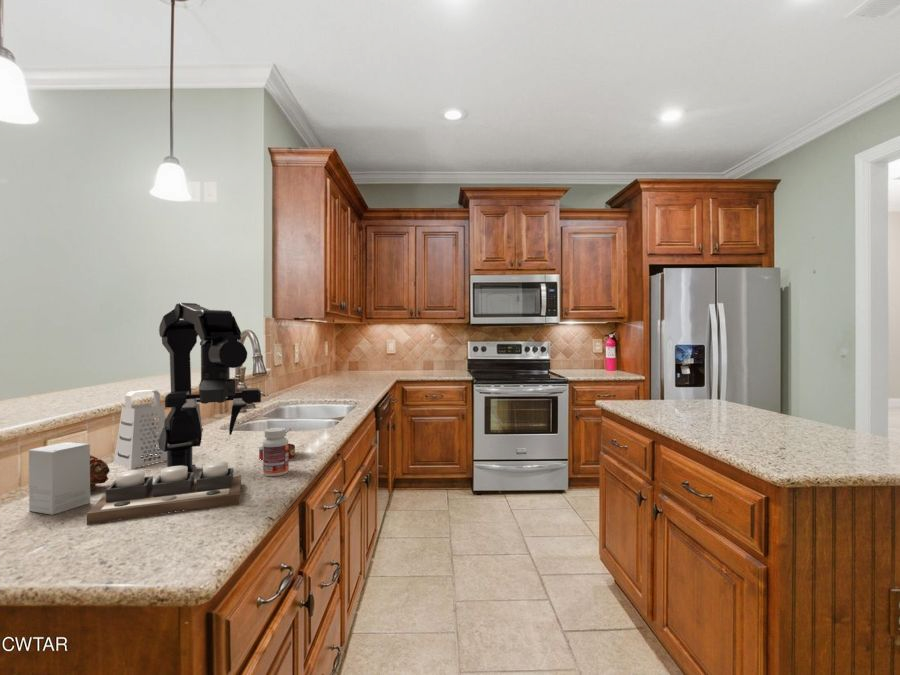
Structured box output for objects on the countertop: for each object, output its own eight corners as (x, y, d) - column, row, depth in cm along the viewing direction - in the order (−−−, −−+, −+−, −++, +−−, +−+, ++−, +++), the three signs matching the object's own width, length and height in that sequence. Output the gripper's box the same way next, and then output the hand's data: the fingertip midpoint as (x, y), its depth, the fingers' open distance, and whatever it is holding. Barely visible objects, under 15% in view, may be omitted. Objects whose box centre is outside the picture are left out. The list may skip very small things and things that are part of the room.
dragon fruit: (112, 495, 106) (51, 508, 103) (121, 466, 112) (64, 477, 109) (97, 472, 101) (32, 485, 98) (107, 443, 107) (46, 454, 104)
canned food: (279, 478, 129) (266, 451, 124) (257, 468, 134) (244, 442, 130) (308, 452, 137) (298, 425, 133) (286, 444, 142) (275, 418, 138)
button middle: (163, 478, 100) (163, 467, 100) (189, 475, 102) (189, 464, 102) (158, 484, 96) (158, 473, 96) (185, 481, 98) (185, 470, 98)
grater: (172, 460, 131) (172, 390, 131) (131, 469, 122) (130, 394, 122) (154, 455, 136) (153, 388, 136) (113, 463, 127) (113, 391, 127)
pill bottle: (291, 474, 117) (291, 430, 117) (265, 478, 113) (265, 432, 113) (285, 468, 122) (285, 426, 122) (260, 472, 118) (260, 428, 118)
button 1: (119, 482, 97) (119, 471, 97) (147, 479, 99) (146, 468, 99) (112, 489, 93) (112, 478, 93) (141, 486, 95) (141, 475, 95)
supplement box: (91, 503, 97) (91, 443, 97) (51, 516, 90) (51, 451, 90) (68, 499, 99) (68, 441, 99) (27, 511, 92) (27, 449, 92)
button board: (108, 499, 99) (108, 479, 99) (240, 484, 109) (240, 465, 109) (86, 524, 86) (86, 500, 86) (238, 503, 96) (238, 482, 96)
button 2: (204, 473, 104) (204, 463, 104) (228, 471, 106) (228, 460, 106) (201, 480, 99) (201, 468, 99) (227, 477, 101) (227, 466, 101)
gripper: (159, 369, 91) (160, 448, 91) (261, 367, 99) (261, 439, 99) (169, 366, 101) (169, 436, 101) (260, 364, 109) (260, 429, 109)
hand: (215, 435), depth 102 cm, fingers open, 6 cm apart
